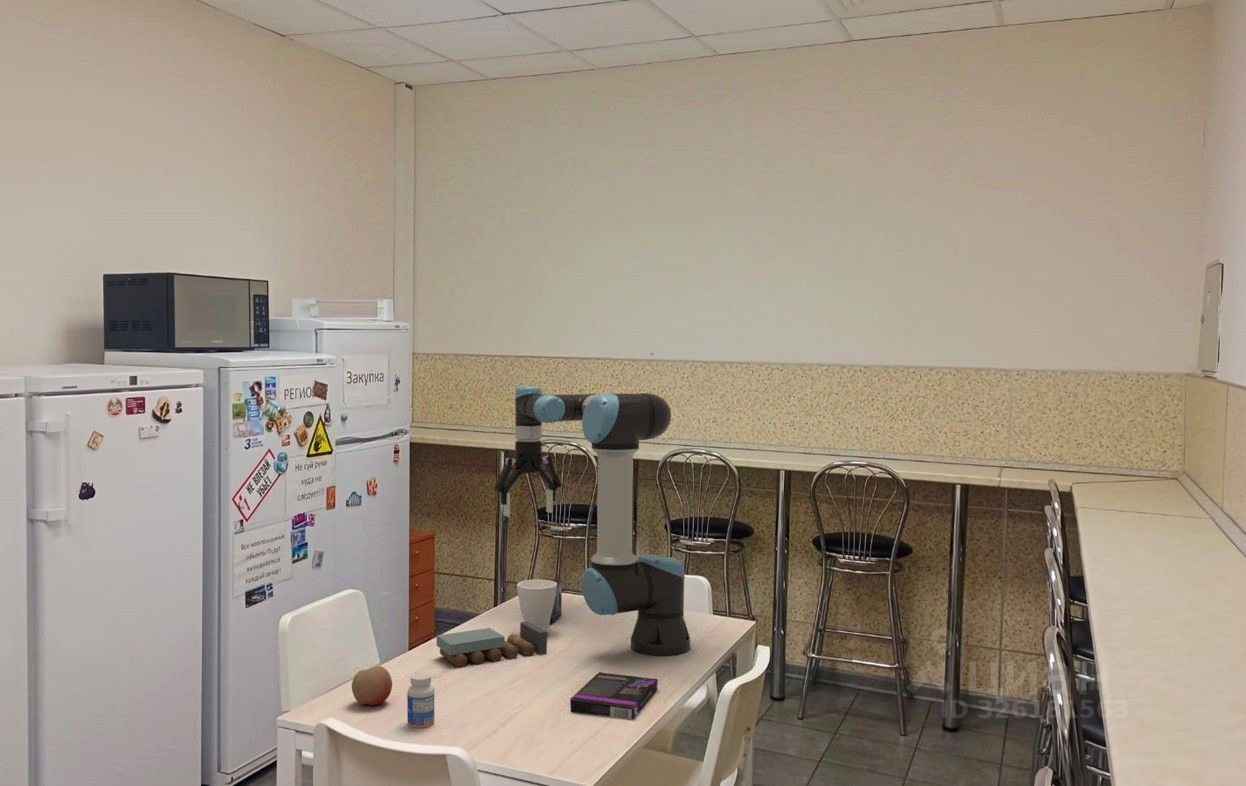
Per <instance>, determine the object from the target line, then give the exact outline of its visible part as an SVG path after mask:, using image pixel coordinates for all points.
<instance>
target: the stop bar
mask: <svg viewBox="0 0 1246 786" xmlns="http://www.w3.org/2000/svg"><path fill="white" fill-rule="evenodd" d="M519 629H520V631H519V635H520V636H519V637H521V638H522V639H524V640H526V641H528V642H529V643H531V644H533V645H534V646H535V652H534V653H536V654H538V655H539V656H542V655H547V654H548V651H547V650H548V645H547V644H548V635H547V632H546V631H545V630H543V629H541V628H539V627H537V626H535V625H533V624H531V623H529V622H524V621H522V622H520V626H519Z"/></svg>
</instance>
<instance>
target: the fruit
mask: <svg viewBox="0 0 1246 786" xmlns="http://www.w3.org/2000/svg"><path fill="white" fill-rule="evenodd" d="M353 677H354V678H353V680H352V681H351V692H352V694H353V697H354V699H355V700H356V702H358V703H359V704H360V705H368V706H372V707H373V706H379V705H382V704H383V703H384V702H385V701H386V700H387V699H388V698H389V697H390V695H391V692H392V689H393V679H392V677H391V675H390V672H389V671H388V670H387V669H386V668H385V667H384V666H381V665H377V666H374V667H370V668H368V669H362V670H359V671H358V672H357V673H356V674H355V675H354V676H353Z"/></svg>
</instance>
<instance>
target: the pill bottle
mask: <svg viewBox="0 0 1246 786" xmlns="http://www.w3.org/2000/svg"><path fill="white" fill-rule="evenodd" d="M431 683H432V675H431V674H429V673H425V672H422V673H421V672H420V673H419V672H418V673H415V674H412V675H411V676H410V686H408V688H407V692H406V695H407V696H406V698H407V699H406V700H407V704H406V706H407V710H406V711H407V713H406V716H407V725H408V726H410V727H412V728H418V729H421V728H427V727H431V726H432V725H433V724H435V716H436V715H435V711H436V710H435V688H434V686H433V685H432V684H431Z"/></svg>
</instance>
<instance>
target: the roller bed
mask: <svg viewBox="0 0 1246 786" xmlns="http://www.w3.org/2000/svg"><path fill="white" fill-rule="evenodd" d="M519 652H520V653H522V654H524V655H525V656H527V657H529V656H530V657H531V656H533V655H534V653H536V652H535V646H534V645H533V644H531V643H529V642H528V641H526V640H524V639H522V638H521V637H520V636H519V635H518V634H515V633H511V634H509V635H508V637H507V638H506V640H505V647H500V648H493V649H487V650H481V651H474V652H468V653H462V654H455V655H449V654H448V653H446V652H445V651H444V650H442V649H441V648H439V654H440V655H441V656H442V657H444V658H445V659H446V660H448V661H449V662H451V663H452V664H453V665H455V666H456V667H458V668H463V667H465V666H466V664H467V662H468V660H469V661H470V662H472V663H473V664H476V665H480V664H483V662H484V660H485V657H486V658H488V659H489V660H490V661H491V662H492V661H493V662H499V661H500V660H501V658H502V656H503V655H504V656H506V657H507V658H509V659H511V660H512V659H516V658H517V657H518V655H519Z"/></svg>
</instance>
